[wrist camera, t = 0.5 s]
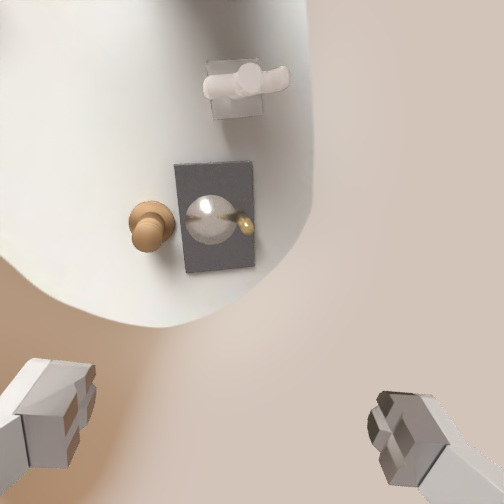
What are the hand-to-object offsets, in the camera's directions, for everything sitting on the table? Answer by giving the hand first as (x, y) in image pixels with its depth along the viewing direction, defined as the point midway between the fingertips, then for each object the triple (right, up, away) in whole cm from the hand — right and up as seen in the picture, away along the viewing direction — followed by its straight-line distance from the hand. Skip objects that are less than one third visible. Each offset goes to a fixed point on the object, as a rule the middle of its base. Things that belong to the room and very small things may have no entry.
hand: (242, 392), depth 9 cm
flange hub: (-16, +9, +43) cm, 47 cm away
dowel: (-1, +10, +44) cm, 46 cm away
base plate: (-6, +10, +45) cm, 47 cm away
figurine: (-3, +28, +39) cm, 48 cm away
